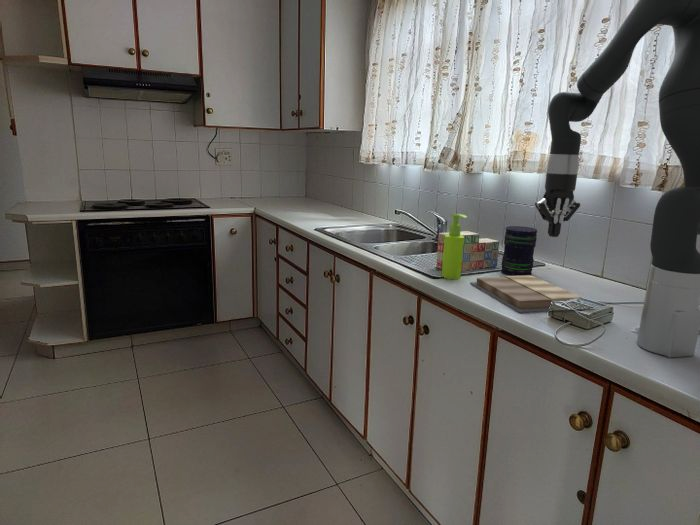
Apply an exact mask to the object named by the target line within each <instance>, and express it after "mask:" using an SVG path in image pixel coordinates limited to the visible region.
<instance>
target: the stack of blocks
mask: <svg viewBox="0 0 700 525" xmlns="http://www.w3.org/2000/svg"><path fill="white" fill-rule="evenodd" d="M448 234H449V231H448V232H438V241H437V248H436V249H437V250H436V252H437V253H436V254H437V255H436V263H435V264H436V266H435V268H437V269H438V268H439V270H441V269H442V264H443V251H444V239H445V235H448ZM460 235H461V236H464V244H463V255H462V266H461V270H464V271H468V270H467V269H472V270H475V269H474V268H482V267H483V268H482V269H485V268H484V267H492V268H496V267H495V266H497V267H498V260H499V250H500V249H499V248H500V241H499V240H496V239H491V238H488V237H487V238H480V233H478V232H477V233H476V232H472V231H468V230H464V231H462V230H461V231H460Z"/></svg>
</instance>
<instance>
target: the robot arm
mask: <svg viewBox="0 0 700 525" xmlns="http://www.w3.org/2000/svg"><path fill="white" fill-rule="evenodd" d="M658 25H663V26H670V27H671V28H672V32H673V38H674V54H673V60H672V61H671V64H670V66H669V69H668V70H667V73H666V74H665V77H664V78H663V81H662V82H661V86H660V89H659V91H658V110H659V112H658V113H659V121H660V123H659V124H660V128H661V130H662V132H663V135H664V137H665V138H666V141H667V142H668V144H669V146H670V147H671V148H672V150H673V152H674V153H675V155H676V157H677V159H678V160H679V163H680V166H681V168H682V174H683V182H684V183H683V184H684V187H682V186H680V187H673V188H670V189H668V190H666V191H665V192H664V193H663V194H662V195H661V196H660V198H659V199H658V201H657V204H656V206H655V209H654V214H653V221H652V230H651V236H650V237H651V239H650V244H649V245H650V246H649V247H650V253H651V264H650V270H649V275H648V279H647V280H648V281H647V286H646V289H645V290H646V292H645V297H644V299H643V300H644V301H643V306H642V311H641V317H640V322H639V328H638V334H637V339H636V340H637V341H636V344H637V345H638V346H639V347H640V348H642V349H644V350H646V351H649V352H652V353H654V354H657V355H662V356H666V357H667V358H670V359H671V358H680V357H681V358H682V357H692V356H694V355H695V351H696V346H697V343H698V338H699V332H700V309H699V308H700V252H699V251H698V250H697V239H698V236H699V235H700V0H638V1H637V2H636V4H635V5H633V8H632V9H631V11H630V12H629V14H628V15H627V16H626V18H625V19H624V21H623V22H622V24H621V25H620V27H619V29H618V30H617V31H616V33H615V35H613V37H612V39H611V40H610V42H609V43H608V44H607V46H606V47H605V48H604V49H603V51H602V52H601V53H600V54H599V55H598V57H597V58H596V59H595V60H594V61H593V62H592V63H591V64H590V65H589V67H587V68H586V70H585V71H584V72H583V73H582V74H581V75H580V77H578V79H577V81H576V82H577V83H576V89H577V90H578V92H568V91H561V92H557V93H556V94H555V95H553V97H552V99H551V100H550V101H549V105H548V108H547V109H548V112H547V113H548V122H549V128H550V130H549V131H550V136H551V144H550V148H549V149H550V151H549V156H548V161H547V167H546V175H545V182H544V183H545V184H544V189H545V190H544V191H545V192H544V194H543V198H542V199H541V200H540V201H535V203H534V206H535V207H536V209H537V211H538V213H539V215H540V216H541V218H542V220H544V221H546V222H548V228H547V235H548V236H549V237H550V238H558V237H559V235H560V234H561V229H562V224H563V223H564V222H569V220H570V219H571V218H572V217H573V215H574V214H576V211H578V209H579V208H580V207H581V203H580V202H577V201H576V200H575V196H574V191H575V190H576V186H577V185H576V184H577V179H578V172H579V165H580V164H579V161H580V158H579V157H580V151H581V150H580V149H581V141H582V135H581V133H579V132H578V131H576V130H573V129H572V128H571V123H570V122H573V123H580V122H582V121H585V120H587V119H588V118H589V117H590V116H591V115H592V114H593V112H594V111H595V110H596V108H597V106H598V104H599V102H600V101H601V99H602V98H603V96H604V94H605V93H607V92H608V91H609V89H611V87H613V86H614V85H615V84H616V83H617V82H618V81H619V79H620V78H621V77H622V76H623V75H624V73H625V72H626V71H627V69H628V67H629V65H630V63H631V59H632V56H633V53H634V50H635V49H636V46H637V45H638V43H639V42H640V40H642V38H644V36H645V35H647V33H648V32H649V31H651V30H652V29H654V28H655V27H656V26H658Z"/></svg>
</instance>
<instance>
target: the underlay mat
mask: <svg viewBox="0 0 700 525" xmlns="http://www.w3.org/2000/svg"><path fill="white" fill-rule="evenodd" d="M476 283H477V281H472V282H469V285H471V286H473V287H475V288H476V289H478V290H479V291H481V292H483V293H484V294H486V295H488V296H490V297H491V298H493V299H495V300H497V301H498V302H500V303H502V304H503V305H505V306H506V307H508V308H509V309H510V310H513V311H515V312H516V313H518V314H531V313H532V314H534V313H549V312H548V311H549V307H541V308H522V309H519V308H517V307H515V306H513V305H512V304H510V303H508V302H506V301H505V300H503V299H501V298H499V297H498V296H496V295H494V294H492V293H491V292H489V291H487V290H486V289H484V288H482V287H480V286H479V285H477V284H476Z"/></svg>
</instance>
